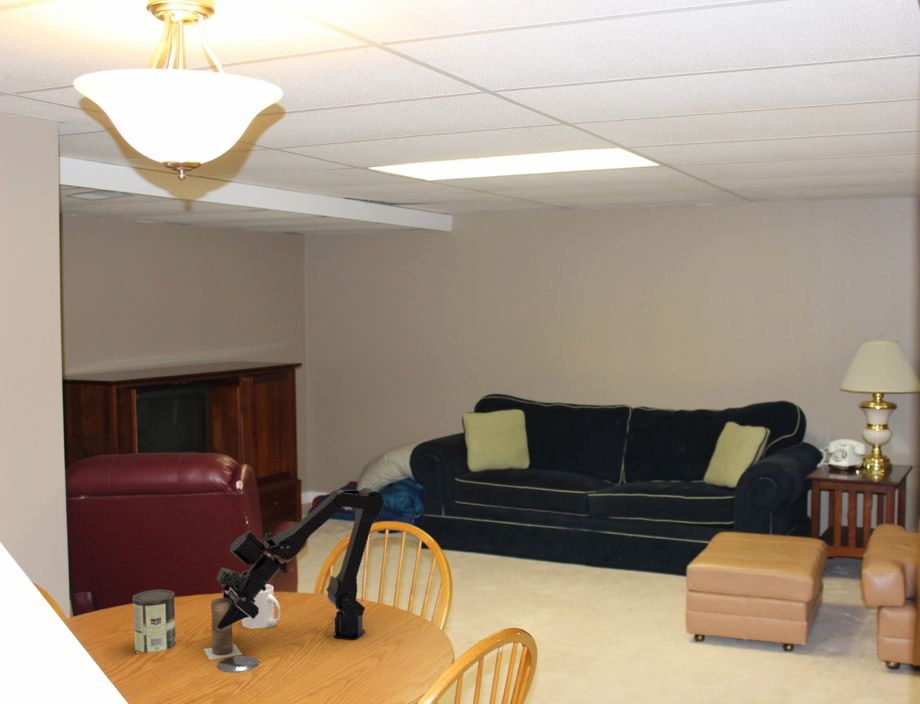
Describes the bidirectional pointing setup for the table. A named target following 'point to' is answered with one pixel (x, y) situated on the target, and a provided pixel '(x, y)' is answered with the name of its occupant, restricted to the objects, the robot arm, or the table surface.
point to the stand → (212, 656)
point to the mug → (263, 610)
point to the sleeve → (221, 637)
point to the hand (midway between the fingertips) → (216, 624)
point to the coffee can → (154, 620)
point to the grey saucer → (238, 664)
